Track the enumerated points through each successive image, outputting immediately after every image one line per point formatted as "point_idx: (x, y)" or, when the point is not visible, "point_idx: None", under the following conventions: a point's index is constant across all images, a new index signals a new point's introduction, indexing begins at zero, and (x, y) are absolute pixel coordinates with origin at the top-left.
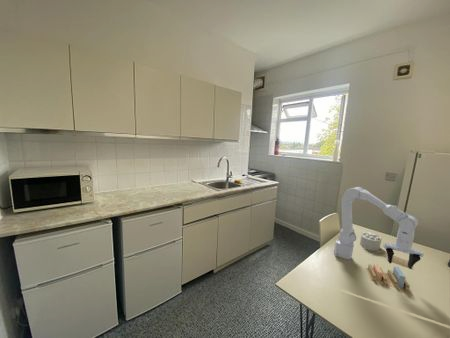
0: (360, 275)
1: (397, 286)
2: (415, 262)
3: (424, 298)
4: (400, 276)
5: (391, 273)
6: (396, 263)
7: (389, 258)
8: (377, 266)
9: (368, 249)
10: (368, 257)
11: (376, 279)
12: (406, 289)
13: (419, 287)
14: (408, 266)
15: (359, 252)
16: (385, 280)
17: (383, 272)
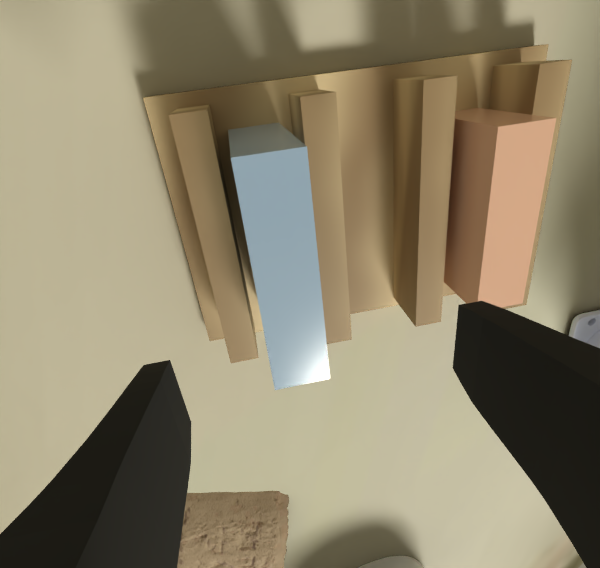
0: (593, 111)
1: (290, 95)
2: (8, 538)
3: (26, 102)
4: (297, 144)
5: (335, 278)
6: (230, 520)
7: (593, 348)
8: (501, 270)
9: (387, 560)
10: (414, 467)
11: (477, 108)
12: (199, 107)
13: (75, 298)
14: (181, 405)
15: (463, 487)
16: (430, 76)
17: (419, 237)
